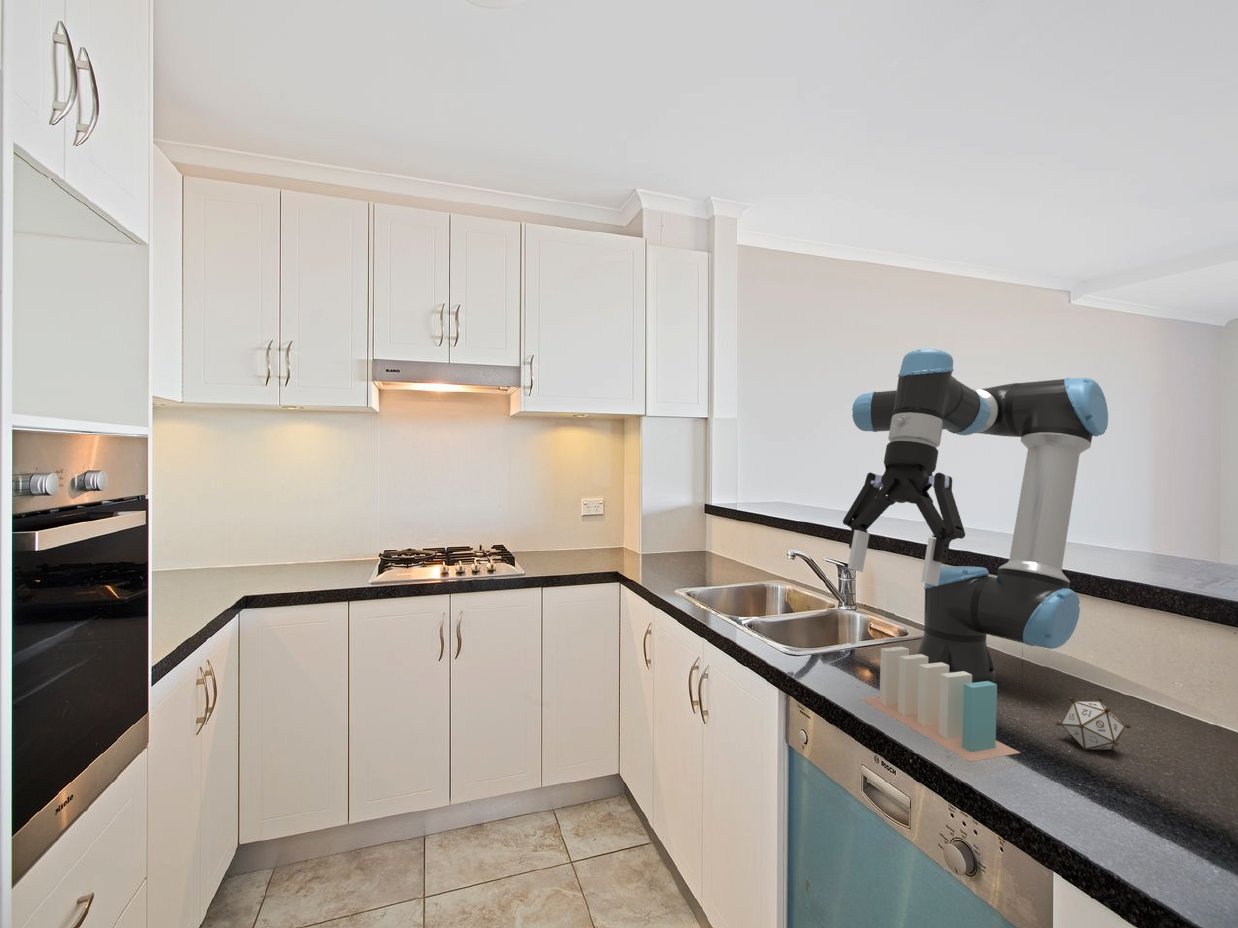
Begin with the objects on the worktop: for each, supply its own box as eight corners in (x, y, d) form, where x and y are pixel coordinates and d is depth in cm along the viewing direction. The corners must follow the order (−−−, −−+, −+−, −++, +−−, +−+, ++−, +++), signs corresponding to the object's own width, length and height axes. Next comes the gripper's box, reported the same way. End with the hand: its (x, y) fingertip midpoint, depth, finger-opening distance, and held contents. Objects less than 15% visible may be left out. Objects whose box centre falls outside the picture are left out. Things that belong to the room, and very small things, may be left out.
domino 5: (962, 747, 94) (963, 683, 94) (986, 743, 95) (987, 680, 95) (970, 752, 92) (972, 687, 92) (995, 747, 94) (997, 684, 94)
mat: (860, 701, 112) (860, 698, 112) (902, 696, 115) (902, 693, 115) (970, 765, 89) (970, 761, 89) (1020, 756, 92) (1020, 752, 92)
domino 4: (938, 734, 98) (940, 673, 98) (962, 730, 99) (963, 671, 99) (946, 738, 96) (948, 677, 96) (970, 735, 98) (972, 674, 98)
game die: (1089, 767, 97) (1106, 711, 100) (1134, 775, 89) (1151, 713, 92) (1037, 735, 98) (1055, 680, 101) (1076, 740, 90) (1095, 680, 93)
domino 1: (879, 702, 111) (880, 648, 111) (901, 699, 112) (902, 646, 112) (885, 705, 109) (887, 651, 109) (907, 702, 111) (909, 648, 111)
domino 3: (917, 722, 102) (918, 664, 102) (940, 719, 104) (941, 662, 104) (924, 726, 101) (926, 667, 101) (947, 723, 102) (949, 665, 102)
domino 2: (897, 711, 106) (899, 656, 106) (920, 708, 108) (921, 653, 108) (904, 715, 105) (905, 659, 105) (927, 712, 106) (928, 656, 106)
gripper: (836, 442, 105) (813, 561, 102) (974, 434, 82) (949, 586, 80) (865, 453, 108) (844, 569, 105) (1006, 448, 86) (984, 595, 83)
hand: (889, 576), depth 93 cm, fingers open, 13 cm apart
